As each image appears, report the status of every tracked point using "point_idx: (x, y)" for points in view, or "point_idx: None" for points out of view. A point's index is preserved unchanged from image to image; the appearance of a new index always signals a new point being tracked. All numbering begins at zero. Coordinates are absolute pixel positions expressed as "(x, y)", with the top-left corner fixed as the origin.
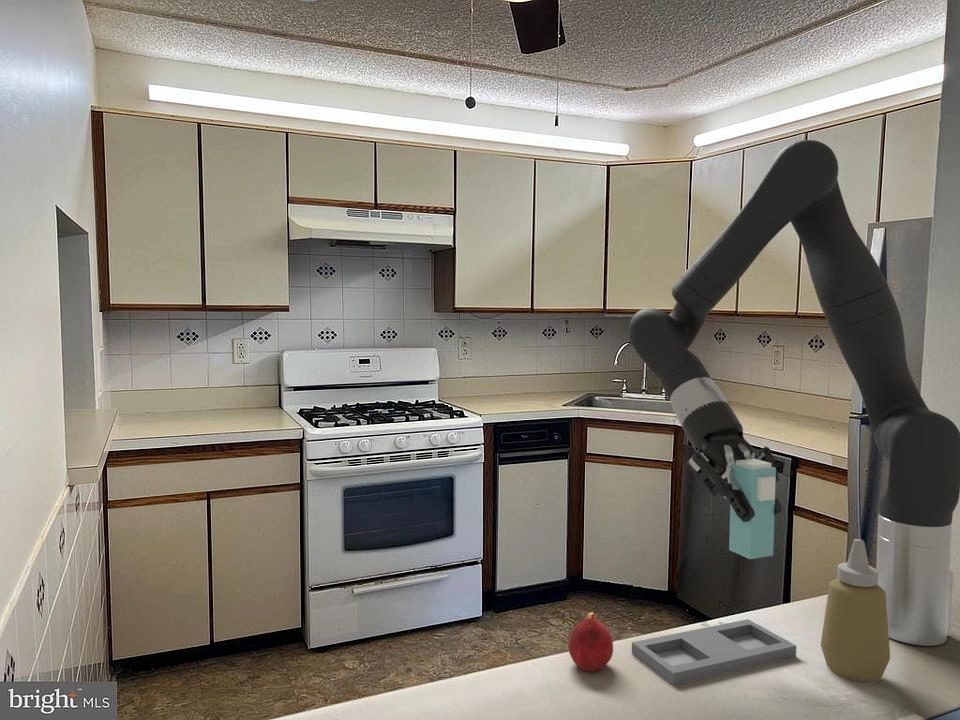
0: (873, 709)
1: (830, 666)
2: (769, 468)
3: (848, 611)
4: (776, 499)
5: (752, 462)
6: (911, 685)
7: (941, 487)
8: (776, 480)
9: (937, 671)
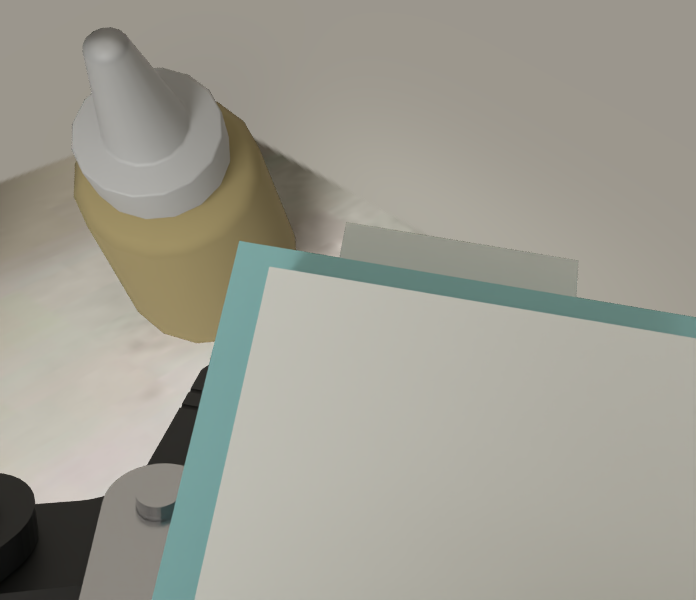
0: (329, 188)
1: None
2: (359, 267)
3: (270, 177)
4: (193, 405)
5: (526, 503)
6: None
7: None
8: (1, 483)
9: (29, 197)
